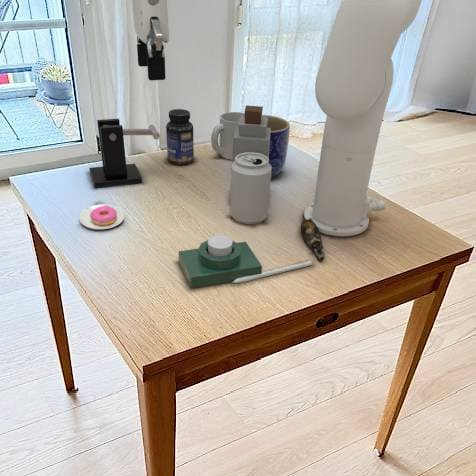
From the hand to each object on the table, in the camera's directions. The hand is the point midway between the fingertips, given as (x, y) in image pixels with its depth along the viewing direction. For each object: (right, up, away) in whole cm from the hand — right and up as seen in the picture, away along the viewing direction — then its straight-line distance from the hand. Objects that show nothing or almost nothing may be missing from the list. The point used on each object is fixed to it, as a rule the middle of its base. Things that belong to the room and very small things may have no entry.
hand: (151, 72), depth 103 cm
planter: (+22, -15, +17) cm, 32 cm away
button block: (+14, -40, -14) cm, 45 cm away
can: (+19, -28, 0) cm, 34 cm away
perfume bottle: (+19, -23, +7) cm, 31 cm away
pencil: (+23, -41, -15) cm, 49 cm away
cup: (+15, -9, +24) cm, 29 cm away
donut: (-9, -29, -2) cm, 30 cm away
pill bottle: (+3, -11, +21) cm, 24 cm away
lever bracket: (-10, -17, +12) cm, 23 cm away
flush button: (+14, -37, -17) cm, 43 cm away
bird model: (+30, -34, -6) cm, 46 cm away
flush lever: (-6, -10, +7) cm, 14 cm away
